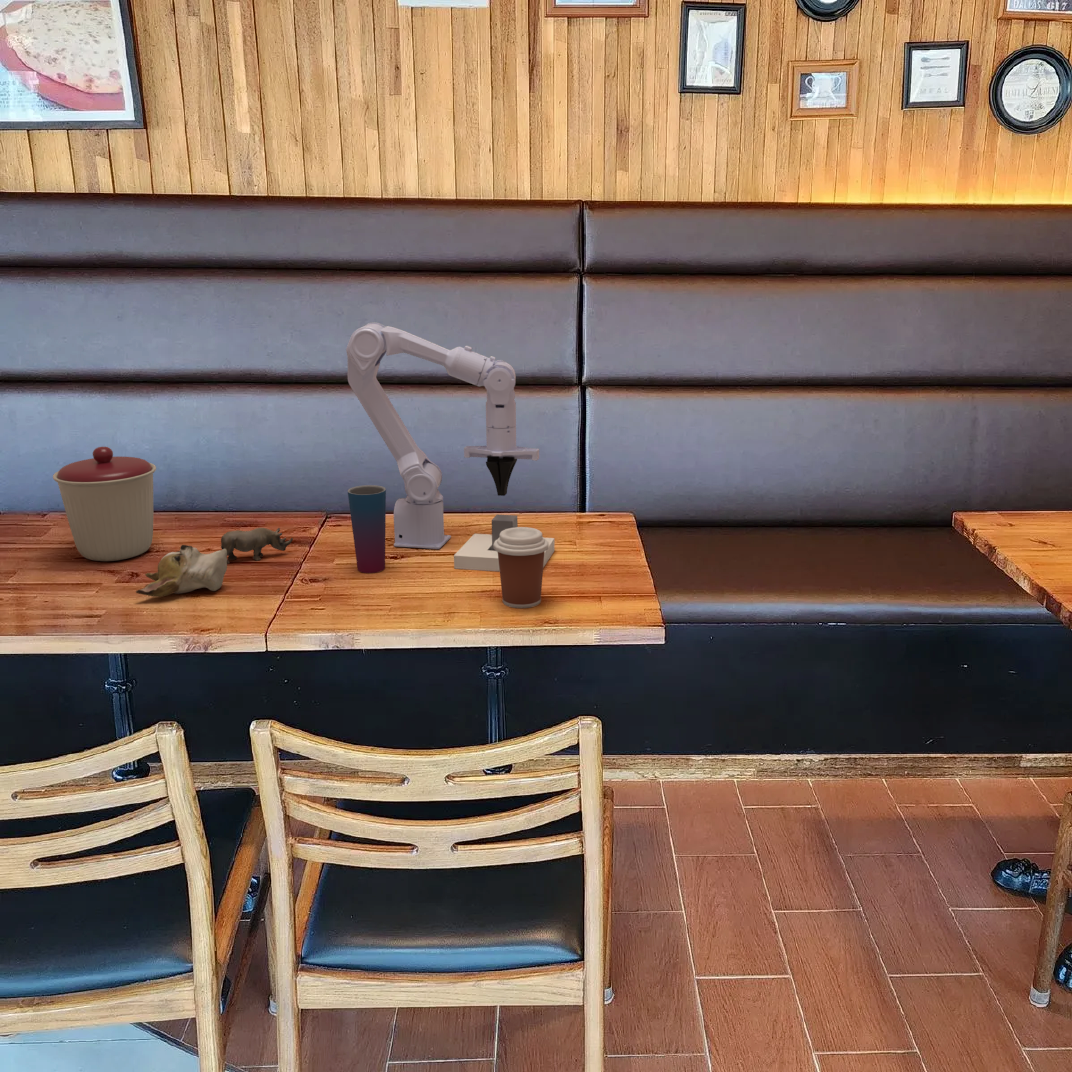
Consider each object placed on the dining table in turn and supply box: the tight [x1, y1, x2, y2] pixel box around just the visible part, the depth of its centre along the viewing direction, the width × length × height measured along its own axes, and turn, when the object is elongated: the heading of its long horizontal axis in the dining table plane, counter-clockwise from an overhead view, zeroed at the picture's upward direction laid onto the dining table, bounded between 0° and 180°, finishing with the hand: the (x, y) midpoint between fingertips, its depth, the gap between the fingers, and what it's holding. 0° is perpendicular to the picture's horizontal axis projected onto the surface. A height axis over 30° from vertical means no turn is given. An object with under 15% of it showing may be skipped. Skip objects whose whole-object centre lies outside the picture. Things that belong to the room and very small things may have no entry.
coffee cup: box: [493, 526, 549, 609], centre depth 167 cm, size 9×9×12 cm
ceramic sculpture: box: [135, 544, 228, 598], centre depth 174 cm, size 11×9×15 cm
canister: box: [52, 446, 157, 562], centre depth 192 cm, size 18×18×21 cm
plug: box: [491, 514, 519, 551], centre depth 189 cm, size 4×4×8 cm
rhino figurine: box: [220, 527, 293, 565], centre depth 191 cm, size 4×14×6 cm, turn 112°
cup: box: [347, 484, 387, 574], centre depth 183 cm, size 7×7×15 cm
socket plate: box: [453, 533, 555, 572], centre depth 190 cm, size 16×14×2 cm
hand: (502, 494), depth 197 cm, fingers closed
